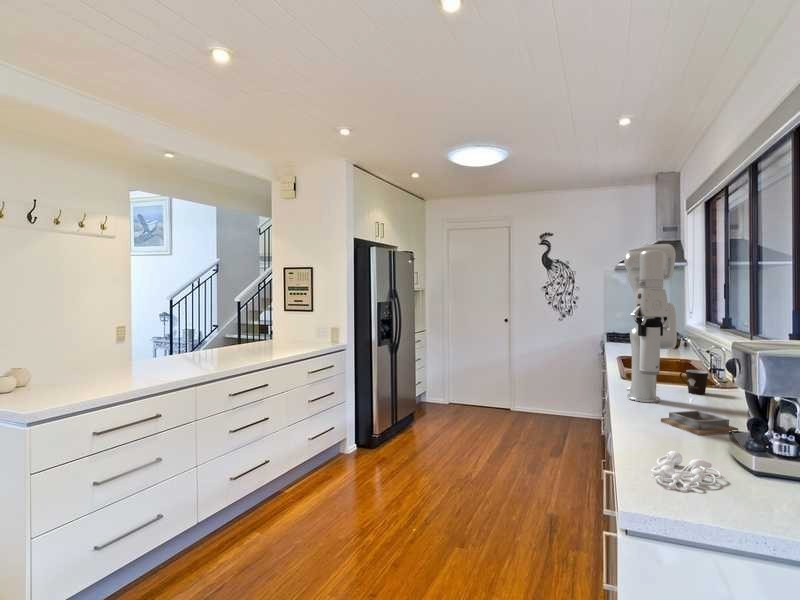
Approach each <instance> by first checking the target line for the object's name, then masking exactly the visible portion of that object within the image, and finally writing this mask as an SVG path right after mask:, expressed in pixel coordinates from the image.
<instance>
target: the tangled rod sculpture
mask: <svg viewBox="0 0 800 600" xmlns="http://www.w3.org/2000/svg"><path fill="white" fill-rule="evenodd" d="M682 463H683V456H682V454H681V453H680V452H678V451H676V450H671V451H669V452H667V453H666V455H663V456H661V457H658V458H657V459H656V464H657V465H656V466H654V467H652V468H651V469H650V473H651V475H650V476H651V478H653V479H654V480H655V481H656V483H659V484H661V485H663V486H664V487H667V488H668V489H670V490H673V491H674V490H678V491H681V492H687V491H689V492H690V491H692V489H695V488H698V487H700V484H701V485H706V486H714V485H715V484H716V482H717V480H719V479H722V473H721V472H720V471H719V470H717V469H716V468H713V467H712V463H711V462H709V461H708V460H705V459H701V458H699V459H697V458H696V459H695V458H694V459H691V460H690V461H689V463H688V464H687V465H685V467H683V468H682V469H680V470H677V471H676V470H675V466H680V465H681V464H682ZM707 470H708V471H714V472H716V473H718V476H715V474H713V473H710V472H707ZM654 475H655V476H654ZM686 477H691V478H686ZM705 478H706V479H710V480H713V482H710V483H709V482H704V480H705ZM663 481H672V482H669V483H668V484H666V483H665V482H663ZM685 481H686V482H690V484H691V485H690V484H689V483H686V482H685ZM679 483H680V484H681V485H682V486H683V487H682V488H679V487H678V485H677V484H679Z"/></svg>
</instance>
